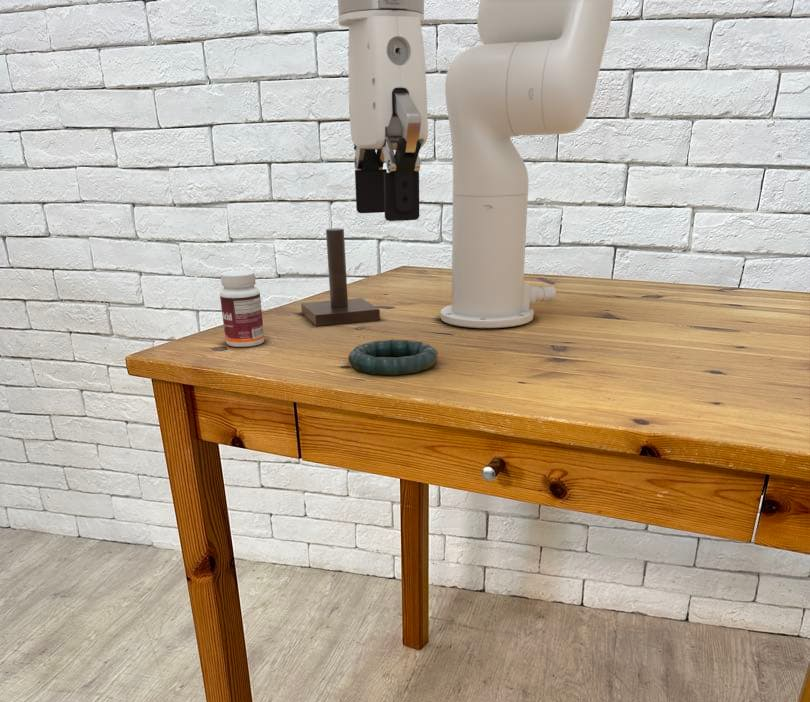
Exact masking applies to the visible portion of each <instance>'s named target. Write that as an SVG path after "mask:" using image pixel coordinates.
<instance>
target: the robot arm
mask: <svg viewBox="0 0 810 702" xmlns="http://www.w3.org/2000/svg"><path fill="white" fill-rule="evenodd" d="M613 7H614V0H479V4H478V11H477V32H478V36H479V39H480V41H481V42H482V44H479V45H477V46H476V45H475V46H472V47H470V48H468V49H465V50H463V51H461V52H460V53H459V54H457V56H456V57H454V59H453V60H452V61H451V63H450V65H449V66H448V69H447V72H446V76H445V82H444V85H445V86H444V94H445V95H444V96H445V102H446V103H445V104H446V111H447V118H448V124H449V131H450V141H451V155H452V156H451V157H452V220H451V221H452V222H451V224H452V225H451V226H452V229H451V230H452V233H451V234H452V236H451V237H452V238H451V240H452V243H451V245H452V246H451V304H450V305H446V306H444V307H443V308H441V310H440V314H439V317H440V320H441V321H442V322H444V323H446V324H448V325H451V326H455V327H462V328H471V329H472V328H473V329H501V328H502V329H503V328H511V327H517V326H522V325H525V324H526V325H527V324H528V323H530V322H531V321H533V320H534V313H535V311H534V309H532V308H531V307H530V306H533V305H534V304H535V303H536V302H541V303H543V302H553V301H555V299H556V297H557V290H556V287H555V286H553V285H548V286H540V287H538V286H537V285H531V283H527V282H524V281H525V280H524V279H525V278H524V277H525V263H526V262H525V261H526V241H527V240H526V238H527V221H528V219H527V218H528V200H529V199H528V198H529V173H528V169H527V166H526V164H525V161H524V159H523V158H522V156H521V154H520V152H519V151H518V150H517V147H516V146H515V145H514V142H513V141H512V139H511V137H520V136H545V135H546V136H551V135H554V136H555V135H566V134H570V133H573V132H575V131H577V130H578V129H579V128H581V127H582V125H583V124H584V122H585V121H586V119H587V117H588V115H589V112H590V110H591V106H592V103H593V99H594V95H595V90H596V87H597V82H598V78H599V73H600V70H601V65H602V61H603V56H604V53H605V49H606V45H607V40H608V36H609V32H610V26H611V22H612V16H613ZM337 11H338V12H337V14H338V24H339V26H342V27H345V28H348V51H347V56H348V66H347V67H348V71H347V72H348V110H349V111H348V112H349V125H350V126H349V127H350V129H349V130H350V137H351V141H352V143H353V145H354V146H353V149H354V151H355V152H354V153H355V154H354V161H353V162H354V186H355V209H356V212H357V213H358V214H378V213H379V214H381V213H384V219H385V220H386V221H388V222H402V221H403V222H404V221H417V220H418V219H419V218H420V170H421V160H420V156H419V153H420V150H421V149H422V148H423V147H424V145H425V144H426V143H427V141H428V138H429V126H428V125H429V122H428V121H429V120H428V118H429V117H428V95H427V93H428V92H427V73H426V71H427V70H426V58H425V47H424V46H425V45H424V38H423V29H422V25H423V24H424V23H425V0H337ZM384 163H385V165H386V168H384Z"/></svg>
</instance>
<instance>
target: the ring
mask: <svg viewBox="0 0 810 702" xmlns="http://www.w3.org/2000/svg"><path fill="white" fill-rule="evenodd" d="M438 358H439V353H438V351H437V349H436V348H435V347H433V346H431V345H430V344H428V343H426V342H422V341H416V340H411V339H385V340H384V339H383V340H374V341H369V342H366V343H363V344H359V345H357V346H356V347H354V348H353V349H352V350H351V352H350V353H349V354H348V361H349V364H350V365H351V366H353V368H355V369H356V370H357V371H359V372H361V373H362V372H363V373H367V374H372V375H377V376H379V375H380V376H401V375H402V376H403V375H410V374H417V373H420V372H423V371H425V370H428V369H430V368H433V366H434V365H435V364H436V363H437V360H438Z"/></svg>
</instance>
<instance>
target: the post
mask: <svg viewBox="0 0 810 702" xmlns="http://www.w3.org/2000/svg"><path fill="white" fill-rule="evenodd" d="M325 234H326V238H325V239H326V251H327V253H326V255H327V267H328V269H327V270H328V285H329V298H330V299H329V300H321V301H309V302H301V303H300V307H301V314H302V315H303V316H304V317H305V318H306V319H307V320H308V321H309V322H310V323H312V324H313V325H314V326H315V327H324V326H335V325H345V324H355V323H367V322H377V321H381V310H380V308H378V307H377V306H375V305H374V304H372V303H370V302H369V301H367V300H365V299H364V298H361V297H357V298H355V297H354V298H349V297H348V280H347V261H346V242H345V229H344V228H339V227H338V228H335V227H334V228H328V229H327V228H326V230H325Z"/></svg>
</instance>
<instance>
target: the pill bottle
mask: <svg viewBox="0 0 810 702" xmlns="http://www.w3.org/2000/svg"><path fill="white" fill-rule="evenodd" d="M255 275H256V274H255V271H253V270H248V269H234V270H226V271H222V272H220V283H221V286H222V287H223V288H222V289H221V290H220V292H219V299H220V300H219V301H220V307H221V315H222V322H223V329H224V338H225V343H226V345H228V346H230V347H234V348H248V347H255V346H256V347H257V346H259V345H261V344H263V343H264V342H265V332H264V322H263V321H264V320H263V313H262V302H261V301H262V299H261V293H260V290H259V288H257V287H256V276H255Z"/></svg>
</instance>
